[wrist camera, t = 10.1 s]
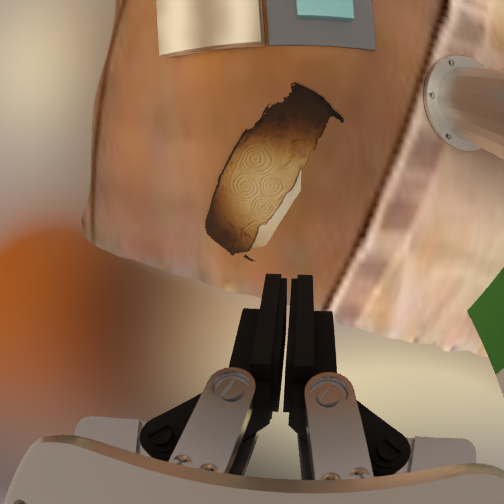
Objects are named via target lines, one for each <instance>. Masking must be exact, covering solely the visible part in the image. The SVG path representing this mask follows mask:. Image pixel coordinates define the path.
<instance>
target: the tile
mask: <svg viewBox="0 0 504 504" xmlns="http://www.w3.org/2000/svg"><path fill="white" fill-rule="evenodd" d="M296 5H297V19H322V20H337V21H348V22H351V21H352V20H353V19H354V9H353V0H296Z"/></svg>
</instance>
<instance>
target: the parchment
mask: <svg viewBox="0 0 504 504" xmlns="http://www.w3.org/2000/svg"><path fill="white" fill-rule="evenodd" d="M292 84H293V83H292ZM292 84H291V85H292ZM291 88H292V93H289V96H288V97H287V99H286V97H284V102H283V103H279V102H278V103H277V104H275V105H274V104H273V105H271V106H272V107H271V108H268V107H266V108H265V110H264V112H263V116H262V117H261V119H260V120H259V121H258V122H257V123H256V124H255V126H254V127H253V128H251V129H249V130H248V131H247V129H246V130H245V132H243V134H242V135H241V138H240V140H239V142H238V143H237V145H236V146H235V148H234V149H233V151H232V153H231V155H230V157H229V159H228V161H227V163H226V165H225V167H224V169H223V171H222V173H221V175H220V176H219V179H218V184H217V187H216V189H215V192H214V195H213V198H212V201H211V206H210V210H209V212H208V215H207V219H206V223H205V226H206V227H205V228H207V229H206V231H207V234H208V235H209V236H210V237H211V238H212V239H213V240H214V241H215V242H217V243H218V244H220V245H221V246H222V247H223V248H225V249H226V250H227V251H228V252H230V254H231V255H232V256H233V255H234V254H235V253H236V252H237V253H241V252H247V251H249V250H250V248H256V247H262V246H266V244H267V243H268V241H269V240H270V238H271V236H272V235H273V233H274V232H275V230H276V228H277V226H278V225H279V223H280V222H281V220H282V219H283V217H284V215H285V214H286V213H287V211H288V209H289V208H290V206H291V205H292V203H293V201H294V200H295V198H296V197H297V195H298V194H299V192H300V191H301V168H302V167H303V166H304V165H306V163H307V161H308V158H309V154H310V152H312V151H313V150H314V149H315V147H316V144H317V140H318V139H319V138H320V137H321V135H322V133H323V131H324V129H325V127H326V124H327V123H328V120H329V117H331V116H335V118H337V119H339V120H340V122H342V123H343V121H344V120H343V118H342V117H341V115H339V114H338V113H337V112H335V111H334V110H333V109H332V108H331V106H330V104H329V103H327V102H326V100H325V99H324V98H323V97H322V96H320V95H318V94H317V93H315V92H314V91H312V90H310V89H308V88H306V87H304V86H302V85H299V84H297V83H295V85H294V86H291ZM268 105H269V104H268ZM268 105H267V106H268ZM265 111H266V112H265ZM264 113H266V114H264ZM301 148H306V149H307V152H306V156H304V157H302V158H300V159H299V153H298V151H299V149H301ZM244 257H245V258H247V259H248V260H251V261H253V259H250V258H249V257H248V256H247V255H245V256H244ZM254 261H255V260H254Z"/></svg>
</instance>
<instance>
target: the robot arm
mask: <svg viewBox="0 0 504 504" xmlns="http://www.w3.org/2000/svg"><path fill="white" fill-rule="evenodd" d="M448 61H449V63H450V64H449V63H448ZM429 93H430V94H431V96H429ZM424 105H425V109H426V113H427V116H428V119H429V121H430V123H431V125H432V127H433V128H434V130H435V132H436V133H437V134H438V135H439V136H440V137H441V138H442V139H443V140H444V141H445V142H446V143H448V144H449V145H451V146H453V147H455V148H457V149H459V150H463V151H477V150H480V149H484V150H486V151H488V152H490V153H492V154H494V155H495V156H497V157H499V158H501V159H503V160H504V69H495V68H485V67H484V66H483V65H482V64H481V63H479V62H478V61H476V60H474V59H472V58H470V57H467V56H462V55H453V56H447V57H445V58H442V59H440V60H439V61H438V62H437V63H435V64H434V65H433V67H432V68H431V69H430V71H429V73H428V75H427V77H426V81H425V85H424ZM446 134H447V136H446ZM286 306H287V278H281V274H266V277H265V283H264V289H263V294H262V300H261V306H260V309H248V308H244V309H243V311H242V315H241V319H240V323H239V327H238V331H237V336H236V340H235V344H234V348H233V352H232V356H231V360H230V365H229V368H224V369H221V370H219V371H217V372H216V373H214V374H213V375H212V376H211V377H210V379H209V380H208V382H207V384H206V386H205V388H204V390H203V392H202V393H201V394H199V395H197V396H196V397H194V398H192V399H190V400H188V401H186V402H184V403H182V404H181V405H179V406H177V407H175V408H173V409H171V410H169V411H167V412H165V413H163V414H161V415H159V416H157V417H155V418H153V419H151V420H150V421H148V422H141V421H140V420H139V419H121V418H108V417H97V416H88V417H86V418H83V419H82V420H81V421H80V422H79V423H78V424H77V427H76V429H75V434H74V435H64V434H63V435H62V434H61V435H50V436H45V437H42V438H40V439H39V440H37V441H36V442H34V443H33V445H32V446H31V447H30V448H29V450H28V451H27V453H26V454H25V456H24V457H23V459H22V461H21V463H20V465H19V467H18V469H17V471H16V473H15V476H14V478H13V480H12V482H11V485H10V487H9V490H8V493H7V496H6V499H5V501H4V504H504V471H503V470H502V469H500V468H498V467H495V466H492V465H486V464H476V451H475V447H474V445H473V444H472V443H471V442H470V441H468V440H466V439H457V438H456V439H455V438H431V437H417V436H416V437H414V438H405V437H404V436H403V435H402V434H401V433H400V432H398V431H397V430H396V429H394V428H393V427H391V426H390V425H389V424H387V423H386V422H385V421H383V420H382V419H381V418H379V417H378V416H377V415H375V414H374V413H373V412H371V411H370V410H369V409H368V408H366V407H365V406H363V405H362V404H361V403H360V402H358V401H357V400H356V397H355V393H354V389H353V386H352V384H351V382H350V381H349V380H348V379H347V378H346V377H344V376H342V375H341V374H338V373H337V366H336V351H335V336H334V324H333V313H332V311H314V303H313V276H312V275H298V279H292V281H291V298H290V314H289V328H288V342H287V355H286V368H285V389H284V409H283V412H289V426H290V427H291V428H292V429H293V430H294V431H295V432H296V433H298V434H297V437H298V447H299V457H300V467H301V468H300V469H301V480H287V479H271V478H270V479H269V478H259V477H249V476H244V475H245V472H246V470H247V467H248V464H249V461H250V458H251V455H252V453H253V450H254V447H255V444H256V441H257V438H258V435H259V431H260V430H261V429H262V428H263V427H265V426H267V425H268V424H269V423H270V419H272V411H275V412H278V409H279V401H280V391H281V381H282V370H283V360H284V349H285V336H286Z"/></svg>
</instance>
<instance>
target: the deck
mask: <svg viewBox="0 0 504 504" xmlns="http://www.w3.org/2000/svg"><path fill="white" fill-rule="evenodd" d="M156 2H157V24H158V40H159V53H160V55H161V56H169V57H177V56H182V55H188V54H194V53H200V52H207V51H215V50H223V49H232V48H244V47H258V46H265V38H264V23H263V9H262V0H156Z"/></svg>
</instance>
